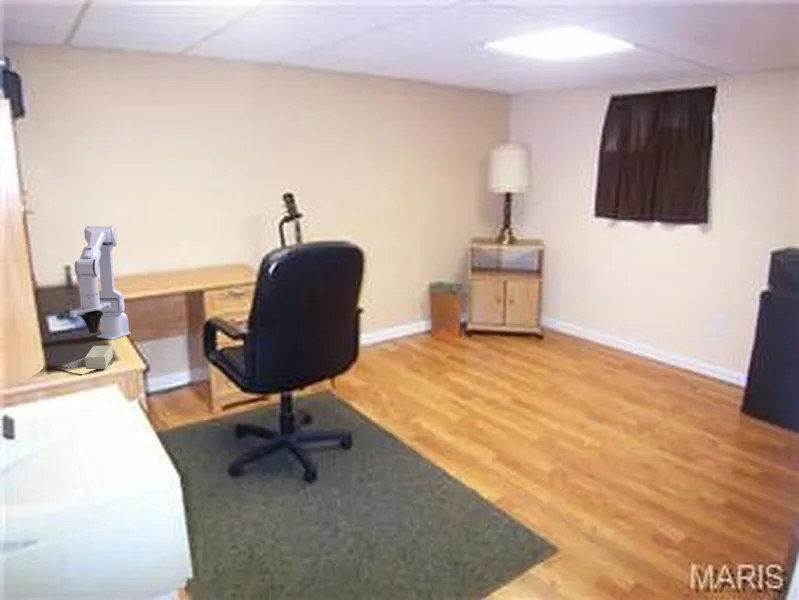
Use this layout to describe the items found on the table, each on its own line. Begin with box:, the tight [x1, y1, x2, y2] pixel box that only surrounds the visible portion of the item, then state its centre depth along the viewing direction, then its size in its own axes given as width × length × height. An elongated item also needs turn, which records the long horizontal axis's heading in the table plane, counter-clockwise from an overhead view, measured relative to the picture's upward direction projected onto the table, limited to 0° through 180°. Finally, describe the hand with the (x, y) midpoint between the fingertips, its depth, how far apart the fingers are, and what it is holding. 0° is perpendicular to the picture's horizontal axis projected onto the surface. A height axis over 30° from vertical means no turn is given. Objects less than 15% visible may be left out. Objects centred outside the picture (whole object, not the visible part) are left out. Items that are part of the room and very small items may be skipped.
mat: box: [61, 357, 114, 368], centre depth 192 cm, size 12×12×1 cm
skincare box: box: [84, 345, 114, 370], centre depth 193 cm, size 6×4×12 cm
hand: (93, 332), depth 196 cm, fingers closed
